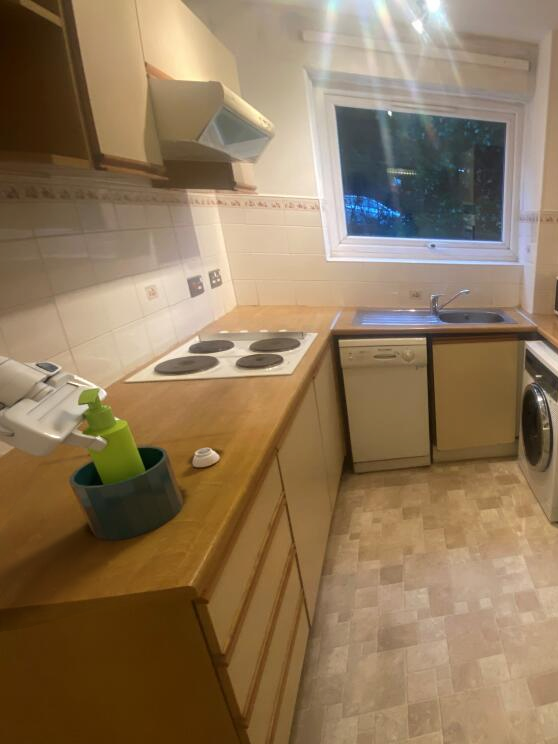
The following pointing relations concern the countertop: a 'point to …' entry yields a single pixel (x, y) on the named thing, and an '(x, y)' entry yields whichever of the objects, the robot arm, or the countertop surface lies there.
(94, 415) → the soap dispenser
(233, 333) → the countertop surface
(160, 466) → the canister
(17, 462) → the countertop surface
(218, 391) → the countertop surface
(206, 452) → the white bowl
